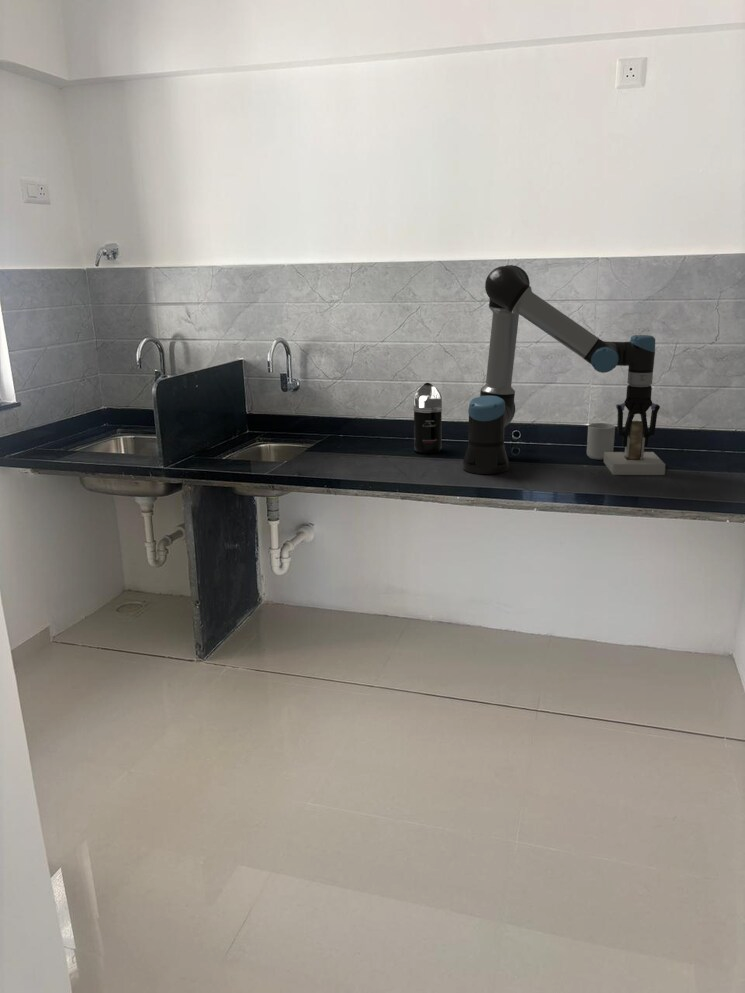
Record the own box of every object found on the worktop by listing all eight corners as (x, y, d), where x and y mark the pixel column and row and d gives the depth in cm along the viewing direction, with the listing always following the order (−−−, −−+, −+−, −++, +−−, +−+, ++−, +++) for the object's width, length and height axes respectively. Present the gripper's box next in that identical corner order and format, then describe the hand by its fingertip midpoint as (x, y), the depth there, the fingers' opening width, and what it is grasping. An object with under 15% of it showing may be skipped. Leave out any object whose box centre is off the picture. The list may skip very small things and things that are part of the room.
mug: (613, 461, 266) (615, 429, 262) (586, 459, 268) (588, 428, 265) (612, 452, 277) (614, 421, 273) (586, 451, 279) (588, 420, 276)
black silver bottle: (411, 448, 289) (411, 381, 282) (439, 447, 290) (439, 379, 283) (416, 455, 280) (415, 385, 272) (444, 453, 281) (444, 384, 273)
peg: (628, 465, 254) (631, 423, 250) (625, 462, 258) (629, 420, 254) (640, 465, 254) (644, 423, 250) (638, 462, 258) (641, 420, 253)
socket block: (612, 474, 250) (613, 464, 248) (603, 461, 265) (604, 451, 264) (664, 475, 248) (665, 464, 247) (652, 462, 263) (653, 451, 262)
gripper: (614, 387, 245) (609, 459, 252) (670, 386, 244) (663, 459, 251) (609, 383, 253) (605, 453, 260) (664, 382, 251) (657, 453, 258)
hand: (633, 456), depth 255 cm, fingers closed on peg, 4 cm apart
